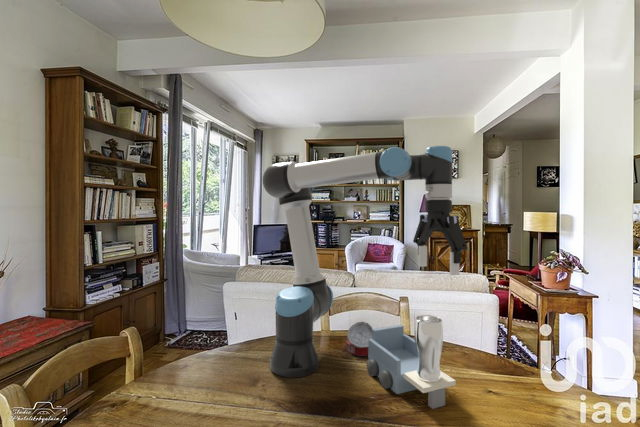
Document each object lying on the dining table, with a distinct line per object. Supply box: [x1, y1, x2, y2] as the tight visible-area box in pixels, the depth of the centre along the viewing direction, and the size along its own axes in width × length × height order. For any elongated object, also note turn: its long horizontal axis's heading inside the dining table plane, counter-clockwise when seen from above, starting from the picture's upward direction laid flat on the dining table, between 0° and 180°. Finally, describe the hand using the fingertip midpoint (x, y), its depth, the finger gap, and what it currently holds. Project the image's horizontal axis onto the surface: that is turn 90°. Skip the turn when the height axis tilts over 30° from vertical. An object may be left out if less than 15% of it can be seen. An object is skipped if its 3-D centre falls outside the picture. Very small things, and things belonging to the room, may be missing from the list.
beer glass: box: [414, 314, 444, 383], centre depth 85 cm, size 7×7×15 cm
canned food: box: [345, 321, 373, 357], centre depth 115 cm, size 11×10×10 cm
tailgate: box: [404, 370, 457, 394], centre depth 85 cm, size 2×10×8 cm
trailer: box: [366, 324, 446, 410], centre depth 93 cm, size 24×16×12 cm
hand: (437, 270), depth 99 cm, fingers open, 13 cm apart
